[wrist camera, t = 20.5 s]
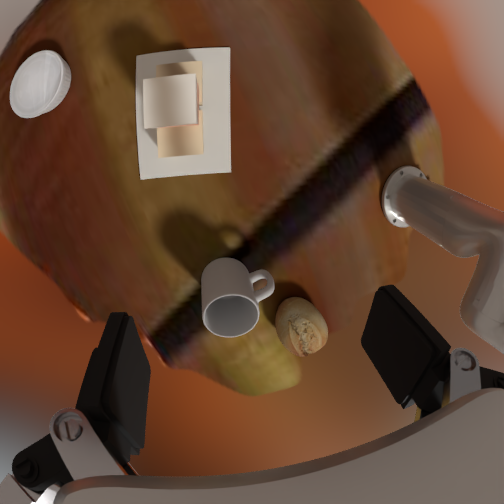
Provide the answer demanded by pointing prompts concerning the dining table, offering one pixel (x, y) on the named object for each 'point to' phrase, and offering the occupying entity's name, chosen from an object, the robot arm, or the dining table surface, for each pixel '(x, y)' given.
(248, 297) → the mug
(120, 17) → the dining table surface
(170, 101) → the birch cube
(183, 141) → the maple block
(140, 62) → the felt mat
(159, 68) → the maple block
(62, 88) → the ramekin
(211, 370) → the dining table surface
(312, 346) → the bread roll
